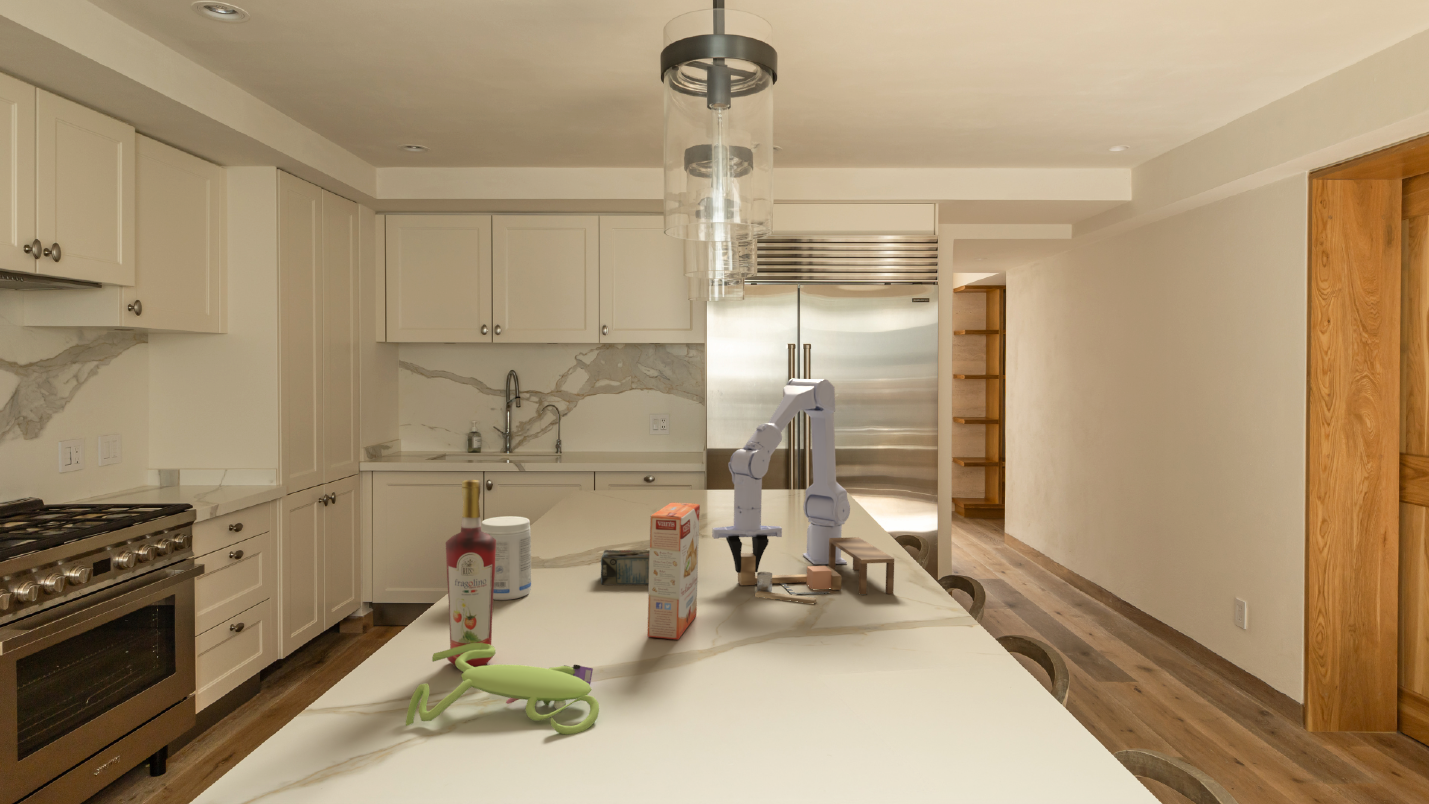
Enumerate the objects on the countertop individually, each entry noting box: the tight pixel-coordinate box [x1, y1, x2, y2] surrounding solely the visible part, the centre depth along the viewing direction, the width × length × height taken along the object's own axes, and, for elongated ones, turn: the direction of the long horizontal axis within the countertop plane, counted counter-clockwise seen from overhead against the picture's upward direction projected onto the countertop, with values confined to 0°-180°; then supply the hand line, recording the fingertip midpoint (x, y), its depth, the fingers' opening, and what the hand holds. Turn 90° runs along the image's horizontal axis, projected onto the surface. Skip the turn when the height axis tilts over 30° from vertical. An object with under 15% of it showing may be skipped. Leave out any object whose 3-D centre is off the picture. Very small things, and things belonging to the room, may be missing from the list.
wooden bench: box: [827, 536, 895, 595], centre depth 175 cm, size 20×7×7 cm, turn 11°
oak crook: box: [737, 552, 842, 591], centre depth 170 cm, size 20×9×6 cm, turn 101°
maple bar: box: [754, 590, 818, 604], centre depth 161 cm, size 2×12×1 cm, turn 69°
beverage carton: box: [600, 549, 650, 586], centre depth 173 cm, size 8×19×7 cm, turn 94°
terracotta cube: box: [806, 565, 832, 590], centre depth 170 cm, size 4×4×4 cm
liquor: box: [445, 479, 496, 667], centre depth 123 cm, size 7×7×28 cm
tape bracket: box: [779, 583, 830, 595], centre depth 170 cm, size 12×8×1 cm, turn 11°
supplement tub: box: [481, 515, 532, 601], centre depth 161 cm, size 10×10×15 cm
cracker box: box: [647, 502, 701, 641], centre depth 143 cm, size 14×6×21 cm, turn 168°
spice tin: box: [756, 571, 773, 593], centre depth 165 cm, size 3×3×4 cm
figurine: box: [405, 643, 600, 735], centre depth 111 cm, size 18×27×6 cm
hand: (746, 571), depth 171 cm, fingers closed on oak crook, 3 cm apart
